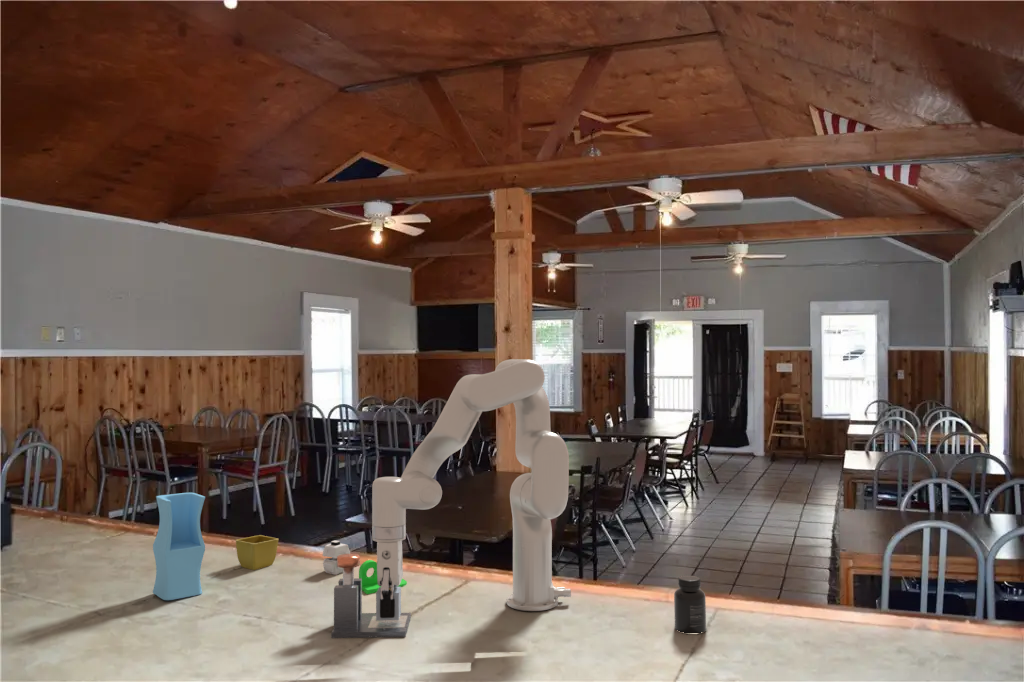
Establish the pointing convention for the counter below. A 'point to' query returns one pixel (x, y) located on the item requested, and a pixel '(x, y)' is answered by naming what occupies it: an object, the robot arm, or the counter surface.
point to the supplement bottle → (690, 605)
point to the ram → (348, 566)
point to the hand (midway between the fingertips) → (388, 612)
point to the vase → (178, 546)
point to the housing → (397, 604)
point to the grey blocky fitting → (334, 556)
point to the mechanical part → (371, 577)
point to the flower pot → (256, 551)
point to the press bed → (361, 616)
